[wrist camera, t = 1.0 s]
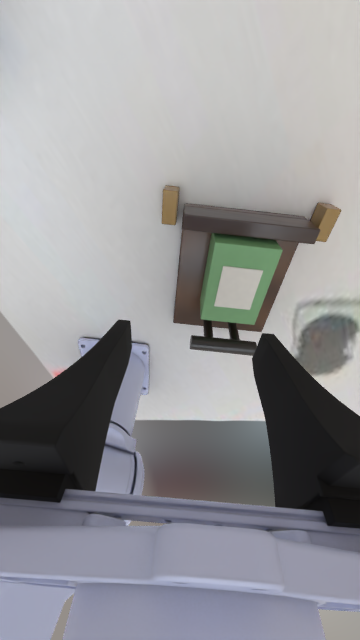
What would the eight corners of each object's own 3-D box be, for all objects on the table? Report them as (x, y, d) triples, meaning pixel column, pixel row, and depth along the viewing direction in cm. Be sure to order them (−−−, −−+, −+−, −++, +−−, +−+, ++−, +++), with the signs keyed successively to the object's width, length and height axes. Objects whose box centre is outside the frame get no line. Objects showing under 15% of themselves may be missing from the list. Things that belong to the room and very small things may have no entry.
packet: (248, 304, 22) (254, 326, 19) (200, 299, 22) (200, 320, 19) (271, 234, 18) (283, 250, 15) (212, 227, 18) (215, 243, 15)
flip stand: (259, 327, 24) (271, 363, 21) (173, 318, 24) (169, 353, 21) (304, 216, 18) (335, 240, 14) (185, 202, 17) (181, 223, 14)
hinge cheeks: (317, 234, 18) (326, 242, 17) (164, 217, 18) (161, 223, 17) (331, 204, 17) (341, 210, 16) (165, 185, 17) (163, 189, 16)
